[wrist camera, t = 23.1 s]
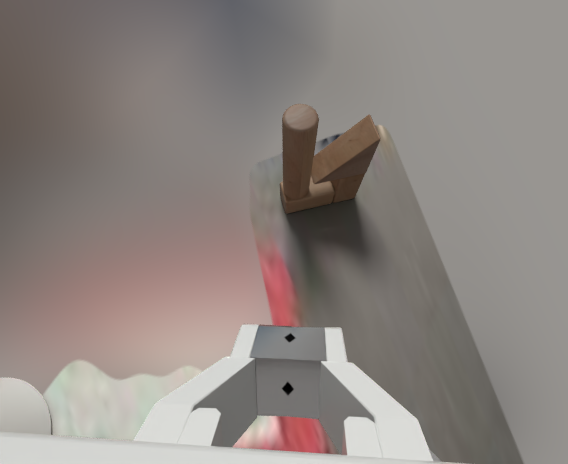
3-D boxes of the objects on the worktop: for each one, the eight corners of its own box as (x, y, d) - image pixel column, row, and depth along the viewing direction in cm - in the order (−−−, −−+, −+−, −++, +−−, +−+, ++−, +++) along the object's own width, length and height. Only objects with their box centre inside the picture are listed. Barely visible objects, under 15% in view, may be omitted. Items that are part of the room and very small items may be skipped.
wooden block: (355, 199, 48) (392, 113, 31) (285, 215, 47) (285, 136, 30) (347, 178, 49) (379, 85, 32) (279, 193, 48) (276, 106, 32)
